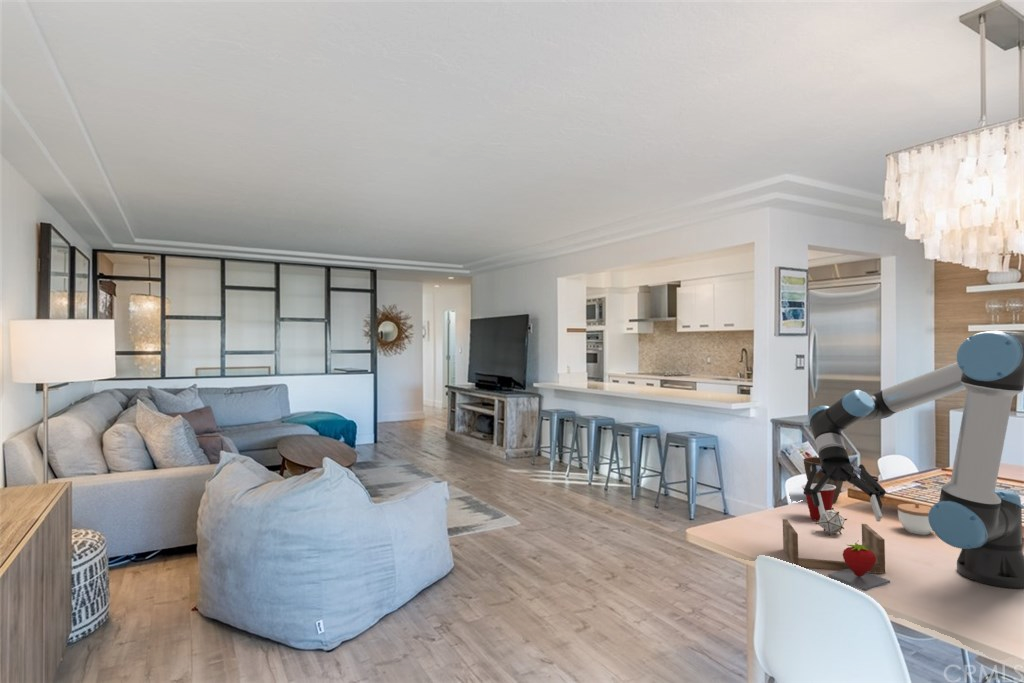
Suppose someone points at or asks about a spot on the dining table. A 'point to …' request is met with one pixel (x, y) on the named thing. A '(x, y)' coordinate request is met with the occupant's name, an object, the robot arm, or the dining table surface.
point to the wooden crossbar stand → (791, 550)
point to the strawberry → (859, 559)
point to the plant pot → (821, 476)
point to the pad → (859, 579)
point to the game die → (831, 522)
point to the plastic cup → (827, 499)
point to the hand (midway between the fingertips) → (851, 517)
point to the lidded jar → (915, 518)
